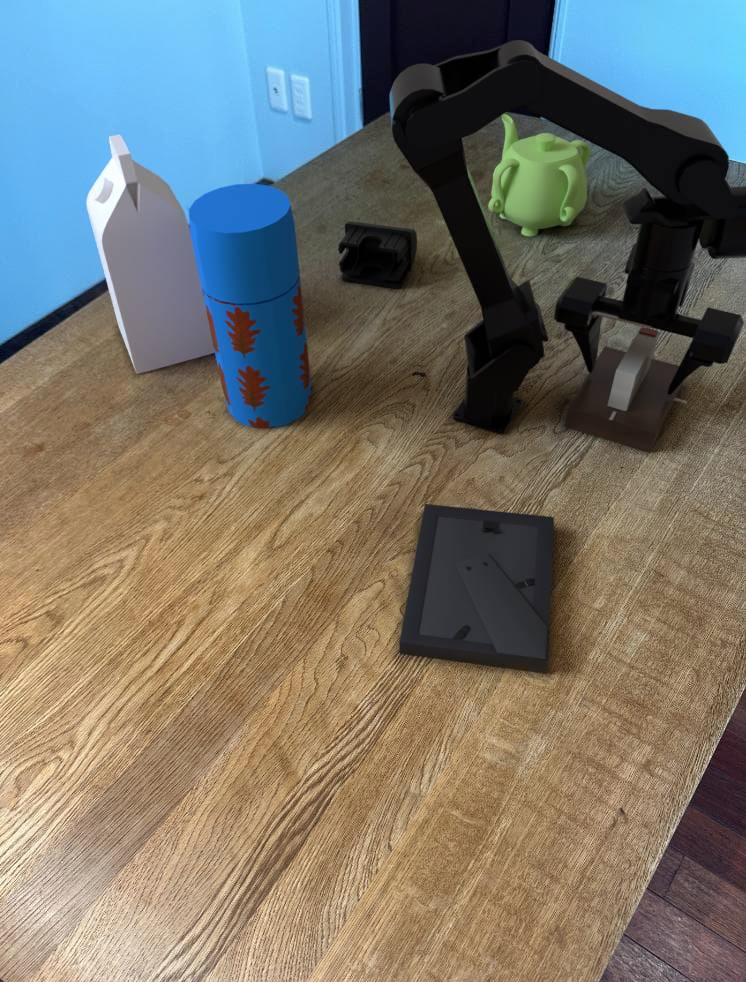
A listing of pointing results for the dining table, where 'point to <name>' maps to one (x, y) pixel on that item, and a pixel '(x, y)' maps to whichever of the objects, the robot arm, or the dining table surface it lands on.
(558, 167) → the teapot
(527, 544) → the picture frame
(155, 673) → the dining table surface
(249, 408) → the thermos
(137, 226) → the milk
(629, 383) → the light gray block
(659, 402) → the dark brown pegged box
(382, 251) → the end cap
